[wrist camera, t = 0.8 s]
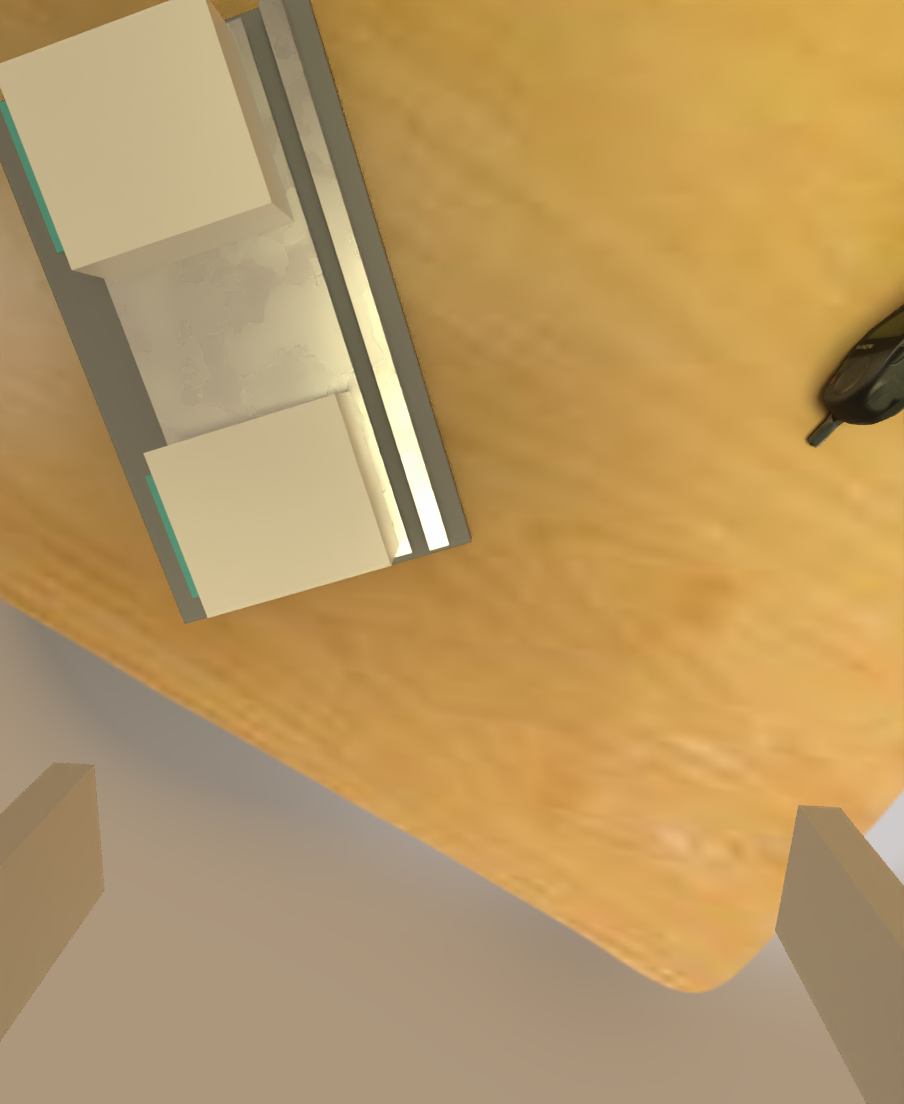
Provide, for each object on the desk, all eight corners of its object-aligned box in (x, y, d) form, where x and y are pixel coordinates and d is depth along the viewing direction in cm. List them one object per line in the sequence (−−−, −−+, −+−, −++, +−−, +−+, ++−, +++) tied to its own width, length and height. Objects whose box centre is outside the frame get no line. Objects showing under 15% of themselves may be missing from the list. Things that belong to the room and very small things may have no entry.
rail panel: (-7, 116, 36) (-98, 68, 30) (310, 1, 34) (277, -73, 28) (191, 617, 41) (146, 656, 36) (471, 537, 40) (471, 565, 34)
